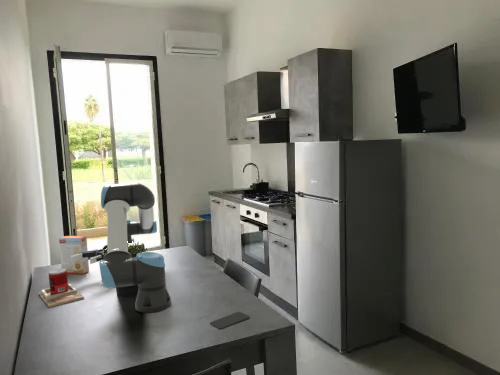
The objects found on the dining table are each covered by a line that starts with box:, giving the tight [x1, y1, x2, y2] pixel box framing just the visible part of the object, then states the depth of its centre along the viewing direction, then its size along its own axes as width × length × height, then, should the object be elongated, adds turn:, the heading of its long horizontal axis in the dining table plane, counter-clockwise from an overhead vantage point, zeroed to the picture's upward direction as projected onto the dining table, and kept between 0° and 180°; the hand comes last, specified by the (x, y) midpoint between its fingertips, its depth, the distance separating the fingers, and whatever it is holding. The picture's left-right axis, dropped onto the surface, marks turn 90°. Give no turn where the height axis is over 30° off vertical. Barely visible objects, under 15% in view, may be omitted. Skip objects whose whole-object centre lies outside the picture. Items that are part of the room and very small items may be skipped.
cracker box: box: [58, 235, 90, 275], centre depth 225 cm, size 14×6×21 cm, turn 77°
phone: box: [209, 311, 250, 330], centre depth 155 cm, size 7×1×15 cm
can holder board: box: [38, 283, 85, 309], centre depth 188 cm, size 22×15×2 cm
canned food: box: [48, 267, 69, 295], centre depth 190 cm, size 8×8×11 cm
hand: (80, 260), depth 200 cm, fingers open, 13 cm apart
